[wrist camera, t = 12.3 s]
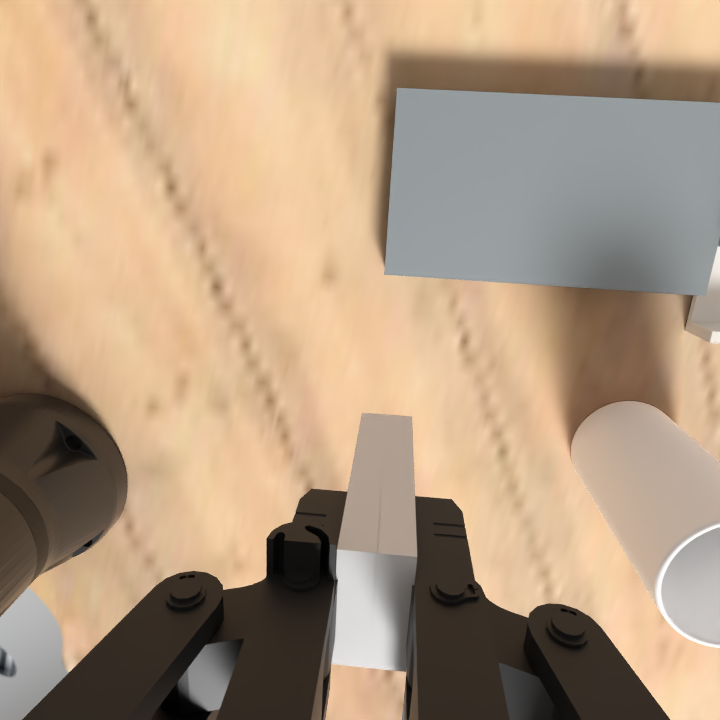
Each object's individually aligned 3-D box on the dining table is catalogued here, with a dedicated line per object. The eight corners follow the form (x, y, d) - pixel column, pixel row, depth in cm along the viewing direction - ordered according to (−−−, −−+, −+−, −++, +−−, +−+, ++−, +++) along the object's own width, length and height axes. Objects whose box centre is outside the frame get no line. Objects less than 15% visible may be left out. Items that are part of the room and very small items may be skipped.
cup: (606, 383, 42) (719, 493, 27) (699, 427, 43) (860, 559, 28) (551, 468, 45) (625, 611, 30) (639, 508, 45) (756, 670, 30)
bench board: (385, 269, 41) (384, 274, 39) (397, 94, 37) (397, 87, 35) (687, 289, 40) (705, 295, 37) (730, 109, 36) (753, 104, 34)
